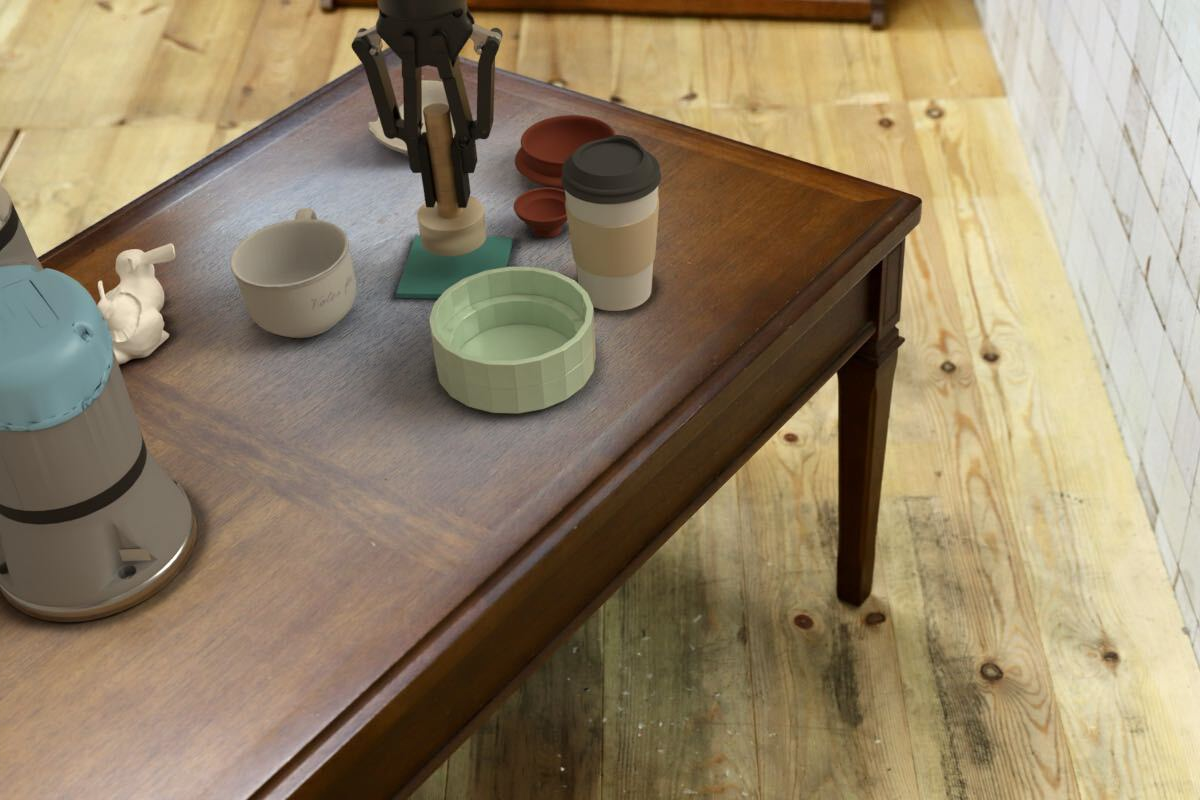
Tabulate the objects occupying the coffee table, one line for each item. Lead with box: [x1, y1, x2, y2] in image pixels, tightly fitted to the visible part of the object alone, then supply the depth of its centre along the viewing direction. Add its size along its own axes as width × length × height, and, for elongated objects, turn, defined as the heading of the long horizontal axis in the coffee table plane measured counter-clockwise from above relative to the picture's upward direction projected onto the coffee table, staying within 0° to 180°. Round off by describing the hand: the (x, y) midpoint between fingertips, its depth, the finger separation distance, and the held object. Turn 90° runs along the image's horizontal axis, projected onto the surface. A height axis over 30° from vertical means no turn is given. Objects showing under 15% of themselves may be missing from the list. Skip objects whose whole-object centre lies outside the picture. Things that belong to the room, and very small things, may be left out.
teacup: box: [229, 207, 358, 339], centre depth 129 cm, size 14×11×8 cm
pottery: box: [513, 114, 617, 239], centre depth 144 cm, size 12×20×4 cm, turn 168°
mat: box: [395, 234, 514, 300], centre depth 136 cm, size 10×10×1 cm
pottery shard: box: [367, 79, 455, 157], centre depth 154 cm, size 10×11×5 cm
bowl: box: [428, 266, 597, 414], centre depth 122 cm, size 14×14×6 cm
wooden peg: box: [416, 103, 488, 256], centre depth 129 cm, size 6×6×14 cm
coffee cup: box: [561, 134, 662, 312], centre depth 127 cm, size 9×9×15 cm
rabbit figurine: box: [96, 242, 176, 366], centre depth 126 cm, size 12×8×10 cm, turn 165°
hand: (448, 199), depth 131 cm, fingers closed on wooden peg, 2 cm apart
